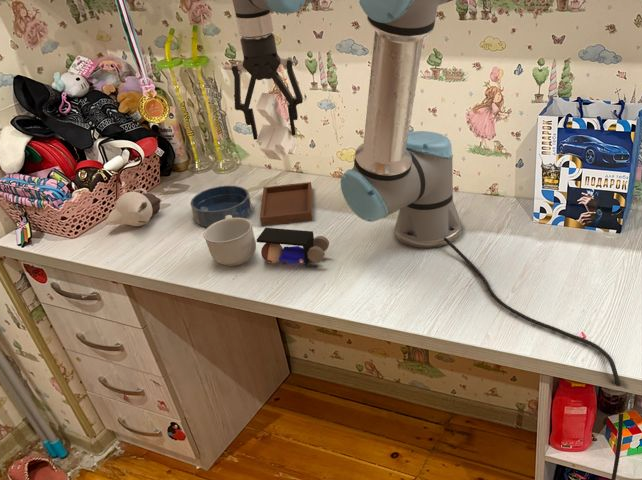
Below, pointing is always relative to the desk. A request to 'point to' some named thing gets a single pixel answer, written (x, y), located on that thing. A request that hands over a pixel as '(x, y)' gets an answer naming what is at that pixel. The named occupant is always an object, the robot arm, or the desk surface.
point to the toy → (134, 208)
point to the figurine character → (295, 254)
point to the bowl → (220, 204)
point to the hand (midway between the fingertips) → (274, 135)
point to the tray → (286, 204)
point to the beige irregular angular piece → (274, 130)
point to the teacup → (231, 240)
